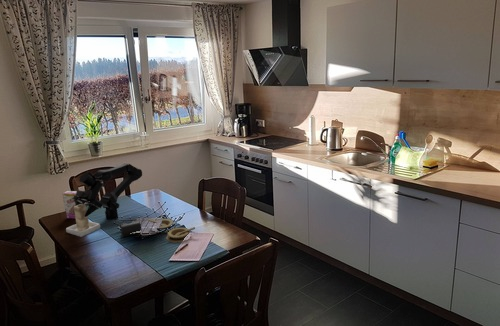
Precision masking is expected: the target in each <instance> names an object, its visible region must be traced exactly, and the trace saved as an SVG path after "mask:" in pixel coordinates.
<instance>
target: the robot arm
mask: <svg viewBox="0 0 500 326" xmlns="http://www.w3.org/2000/svg"><path fill="white" fill-rule="evenodd" d="M124 172H125V173H126V177H124V178H123V180H121V182H120V183H119V184H118V185H117V186H116V187H115V188H114V189H113V190H112V191H111V192H105V193H104V194H103V195H102V196H101V198H100V200H97V197H99V196H100V194H99V193H100V191H101V189H102V188H106V187H107V186H106V183H105V182H108V181H109V180H111V179H112V177H114V176H117V175H119V174H122V173H124ZM142 176H143V171H142V169H141V168H138V167H135V165H134V166H133V165H132V164H130V163H127V162H125V163H123V164H120V165H117V166H115V167H111V168H108V169H100V170H99V169H98V170H97V171H95V173H93V174H91V172H89V171H86V172H84V173H83V174H82V175H80V177H79V182H80V183H82V184H83V185H84V186H86V187H88V189H84V190H80V189H79V190H78V189H77V190H76V191H77V192H76V195H75V196H74V197H73V199H74V201H75V206H77V205H79V204H84V203H85V204H87V205H88V207H87V208H86V209H87V211H86V213H85V217H87V216H88V217H89V216H90V215H91V214H93V213H94V212H96V210H99V209H101V208H104V209H105V210H104V214H105V219H106V221H110V220H115V219H119V215H118V209H119V208H120V203H118V199H119V197H120V196H121V195H122V194H123V193H124V191H125V190H126V189H127V188H128V187H129V186H130V185H131V184H132V183H134V182H135V181H137V180H139V179H140V178H141V177H142ZM102 181H103V182H102ZM74 214H75V212H74Z"/></svg>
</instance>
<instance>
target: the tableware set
mask: <svg viewBox="0 0 500 326" xmlns="http://www.w3.org/2000/svg"><path fill="white" fill-rule="evenodd" d="M161 219H162V224H161V226H159V229H167V228H170V226H171V225H173V221H174V220H173V219H170V218H161ZM172 220H173V221H172ZM148 221H149V222H151V223H152V224H153V223H157V222H156V221H157V220H153V218H152V219H151V218H148V219H147V222H148ZM174 227H175V228H174V229H173V228H172V229H170V230H167V231H165V233H167V236H166V238H165V239H166V241H167V242H168V243H169V242H170V243H174V244H176V243H177V242H179V243H183V242H182V241H183V240H184V238H185V237H186V236H187V235H188V234H189V233H191V231H194V230H195V229H196V227H195V226H192V227H190V228H186V227H176V225H175V226H174ZM168 231H169V232H168Z"/></svg>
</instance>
